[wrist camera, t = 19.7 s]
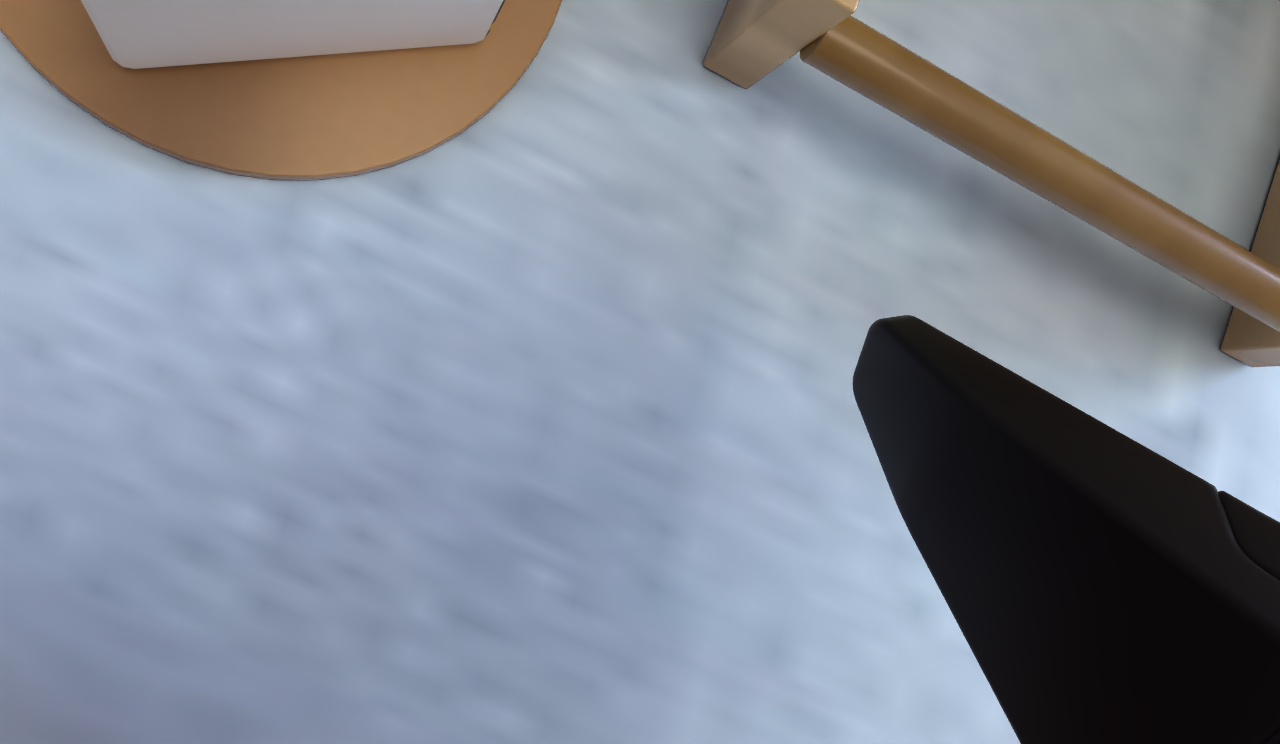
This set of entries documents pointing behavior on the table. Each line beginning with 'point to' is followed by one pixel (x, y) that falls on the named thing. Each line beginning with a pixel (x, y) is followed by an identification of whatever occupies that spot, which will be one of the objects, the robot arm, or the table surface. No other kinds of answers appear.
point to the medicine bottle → (280, 28)
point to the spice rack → (1014, 153)
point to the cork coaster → (284, 94)
